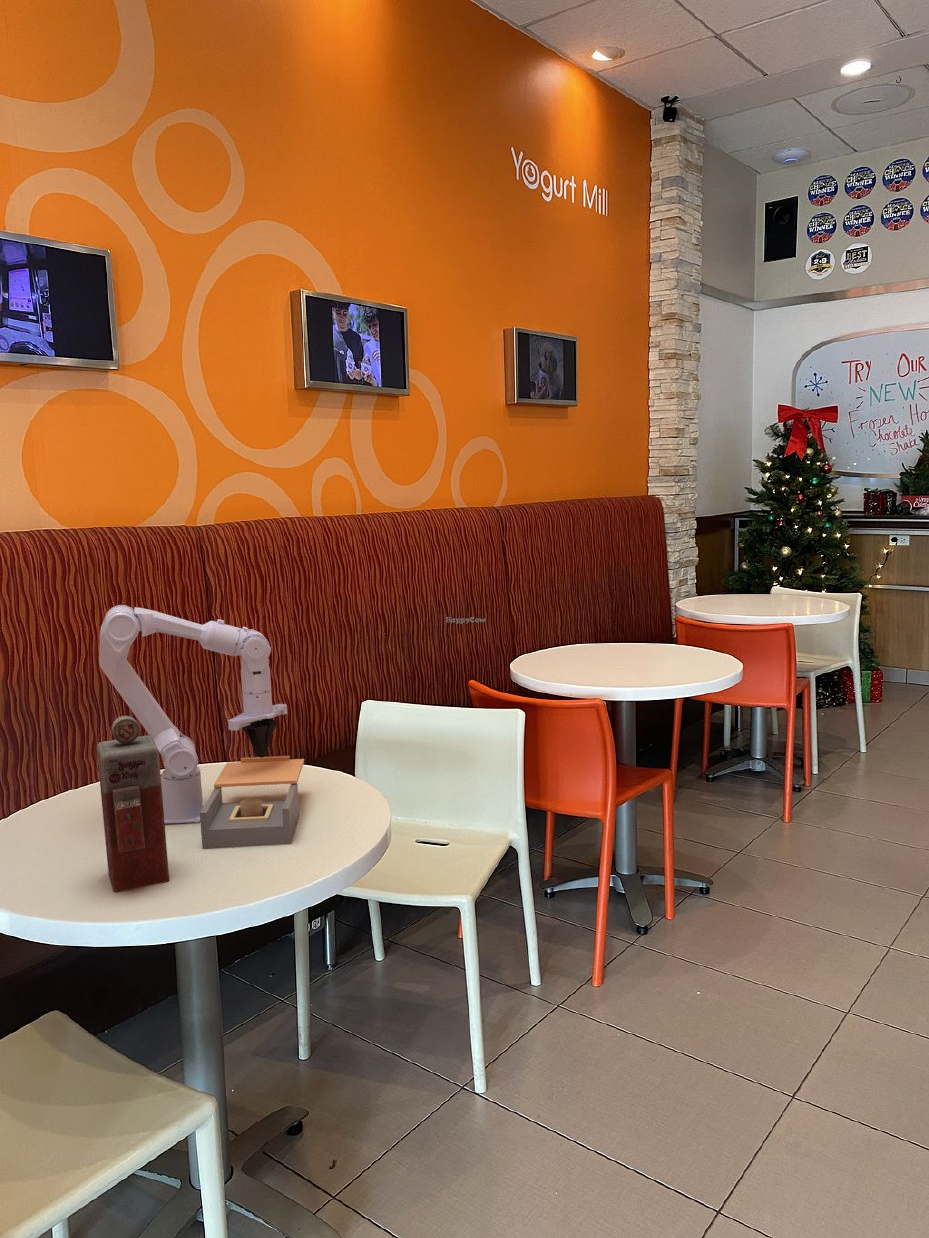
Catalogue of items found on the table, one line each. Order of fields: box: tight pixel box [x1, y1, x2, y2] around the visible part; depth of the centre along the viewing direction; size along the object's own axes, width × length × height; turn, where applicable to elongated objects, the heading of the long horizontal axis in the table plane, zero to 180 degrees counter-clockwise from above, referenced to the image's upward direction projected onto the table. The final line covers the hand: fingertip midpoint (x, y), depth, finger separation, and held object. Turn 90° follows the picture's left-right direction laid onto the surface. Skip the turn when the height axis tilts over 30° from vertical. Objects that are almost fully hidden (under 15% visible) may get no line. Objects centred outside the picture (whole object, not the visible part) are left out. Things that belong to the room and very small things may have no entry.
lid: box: [213, 755, 305, 788], centre depth 190 cm, size 16×14×1 cm
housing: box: [199, 782, 300, 849], centre depth 178 cm, size 16×14×7 cm
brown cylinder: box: [239, 797, 263, 817], centre depth 178 cm, size 4×4×6 cm
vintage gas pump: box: [96, 715, 170, 893], centre depth 156 cm, size 9×11×28 cm
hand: (261, 756), depth 191 cm, fingers closed
